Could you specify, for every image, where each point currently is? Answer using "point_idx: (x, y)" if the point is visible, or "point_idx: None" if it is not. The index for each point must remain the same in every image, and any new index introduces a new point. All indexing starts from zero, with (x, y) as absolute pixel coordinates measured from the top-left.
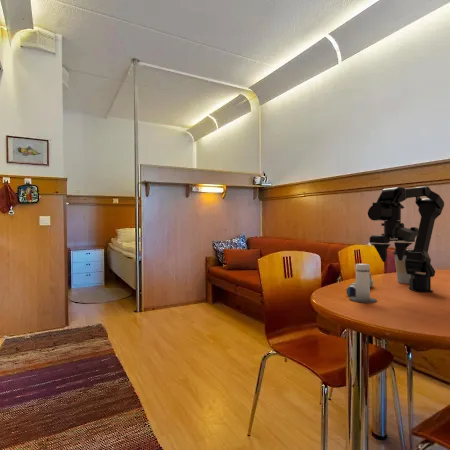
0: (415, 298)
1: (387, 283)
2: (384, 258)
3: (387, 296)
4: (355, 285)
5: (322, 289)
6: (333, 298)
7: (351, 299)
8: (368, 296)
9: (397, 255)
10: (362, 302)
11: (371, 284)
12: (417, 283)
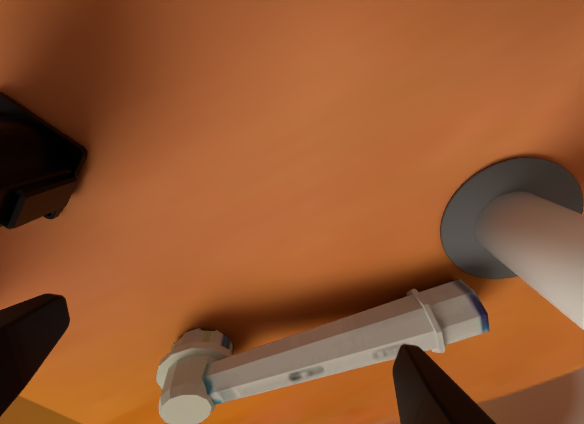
0: (247, 70)
1: None
2: (461, 396)
3: (329, 189)
4: (445, 326)
5: None
6: None
7: None
8: (539, 198)
9: (6, 406)
10: (578, 190)
11: (199, 338)
12: (26, 165)
